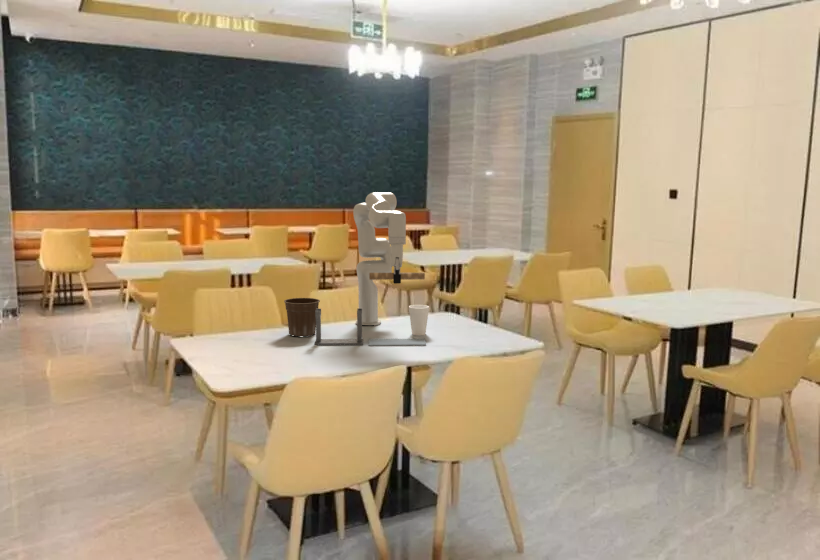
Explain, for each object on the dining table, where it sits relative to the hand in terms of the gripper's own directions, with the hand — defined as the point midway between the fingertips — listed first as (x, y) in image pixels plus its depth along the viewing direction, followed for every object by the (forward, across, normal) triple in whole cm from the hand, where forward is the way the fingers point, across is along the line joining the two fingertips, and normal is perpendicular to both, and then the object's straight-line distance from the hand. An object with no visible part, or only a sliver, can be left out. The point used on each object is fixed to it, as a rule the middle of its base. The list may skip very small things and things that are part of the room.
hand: (397, 282), depth 312 cm
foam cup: (+27, -18, +10) cm, 34 cm away
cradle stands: (+27, 0, -25) cm, 37 cm away
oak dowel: (-1, 0, 0) cm, 1 cm away
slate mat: (+27, 0, 0) cm, 27 cm away
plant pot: (+27, -18, -44) cm, 54 cm away
